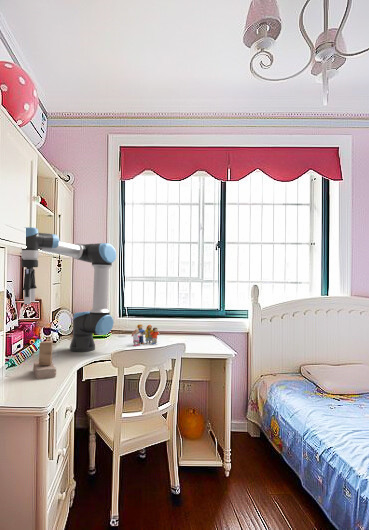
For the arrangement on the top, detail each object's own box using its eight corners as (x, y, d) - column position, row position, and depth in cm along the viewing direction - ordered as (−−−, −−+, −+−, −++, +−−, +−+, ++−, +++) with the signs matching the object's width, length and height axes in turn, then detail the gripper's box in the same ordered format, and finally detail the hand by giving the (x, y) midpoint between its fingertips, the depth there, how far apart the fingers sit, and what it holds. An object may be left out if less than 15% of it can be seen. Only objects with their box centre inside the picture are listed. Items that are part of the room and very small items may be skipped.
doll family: (131, 346, 240) (132, 326, 240) (125, 344, 248) (126, 324, 248) (160, 343, 251) (161, 324, 252) (154, 341, 259) (154, 322, 260)
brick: (56, 378, 167) (56, 367, 167) (36, 380, 163) (36, 369, 163) (51, 369, 181) (51, 360, 182) (32, 371, 177) (33, 361, 178)
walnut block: (40, 363, 175) (41, 341, 175) (51, 362, 176) (52, 341, 176) (38, 365, 170) (39, 343, 170) (50, 365, 171) (51, 343, 171)
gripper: (26, 259, 194) (25, 300, 194) (16, 258, 170) (16, 305, 170) (41, 259, 196) (41, 300, 196) (34, 258, 172) (33, 304, 171)
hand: (29, 302), depth 183 cm, fingers open, 13 cm apart
